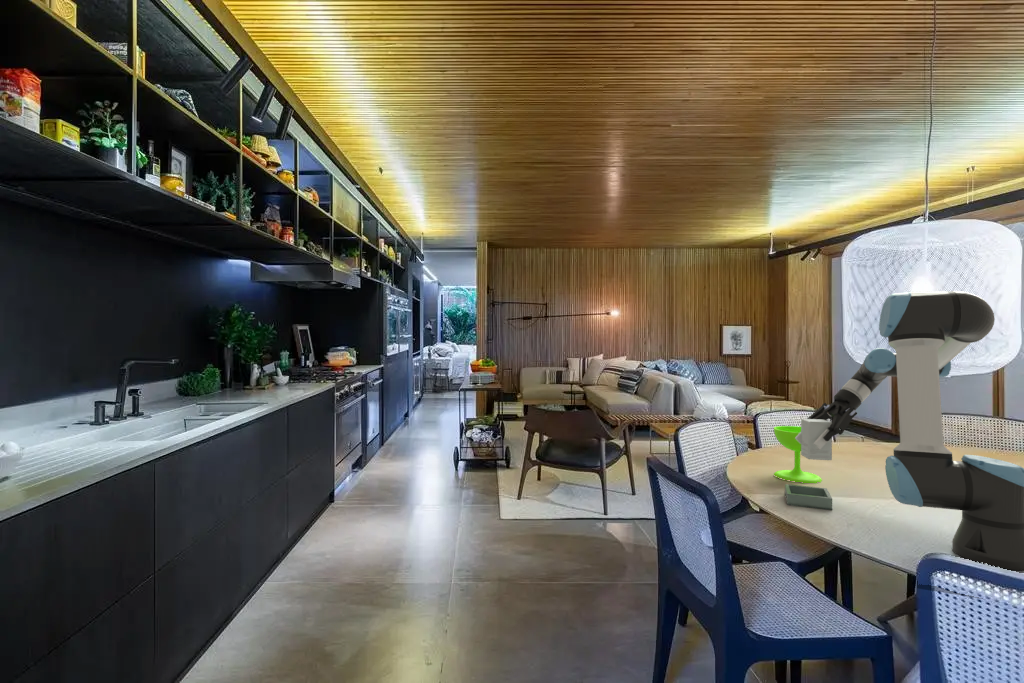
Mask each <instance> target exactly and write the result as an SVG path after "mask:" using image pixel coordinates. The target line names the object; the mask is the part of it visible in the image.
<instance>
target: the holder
mask: <svg viewBox="0 0 1024 683" xmlns="http://www.w3.org/2000/svg"><path fill="white" fill-rule="evenodd" d="M784 496H786V497H785V500H786V505H787V506H793V507H802V508H811V509H819V510H828V511H833V497H832V495H831V493H830V491H829V489H828V488H827V487H817V486H816V487H815V486H807V485H798V484H787V483H785V484H784Z"/></svg>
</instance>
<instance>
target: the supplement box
mask: <svg viewBox="0 0 1024 683" xmlns="http://www.w3.org/2000/svg"><path fill="white" fill-rule="evenodd" d="M800 419H801V422H800V427H801V451H800V456H802V457H804V458H806V459H808V460H816V461H832V460H833V437H832V438H831V439H830V440H829V441H828V442H827V443H826V444H825V445H824V446H823V447H822V448H821V449H818V448H817V447H816V446H815V445H814V444H813V443H814V442H815V441H816V440H817V439H818V438H819V436H820V435H821V434H822V433H823V432H824V431H825V430H826V429H828V428H827V427H830V425H831V424H832V421H829V420H824V419H807V418H800ZM828 430H829V429H828ZM829 431H830V430H829Z"/></svg>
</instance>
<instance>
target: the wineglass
mask: <svg viewBox="0 0 1024 683" xmlns="http://www.w3.org/2000/svg"><path fill="white" fill-rule="evenodd" d="M773 432H774V436H775V438H776V440H777V441H778V442H779V443H780V445H782V446H783V447H784V448H786V449H788V450H789V451H790V450H791V451H793V452H794V462H793V463H794V467H793V469H780V470H777V471H775V472H774V473H773V475H775V476H777V477H779V478H782V479H785V480H790V481H795V482H803V483H802V484H804V483H814V484H818V483H817V482H820V483H822V482H821V481H823V479H822V478H821V476H819V475H817V474H815V473H812V472H809V471H808V472H807V471H803V469H801V444H800V443H799V442H798V441H797V440H796V439H795V437H796V436H797V435H798V434H799V433H800V432H801V426H797V425H796V426H795V425H778V426H774V427H773Z"/></svg>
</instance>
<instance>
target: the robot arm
mask: <svg viewBox="0 0 1024 683" xmlns="http://www.w3.org/2000/svg"><path fill="white" fill-rule="evenodd" d="M880 311H881V312H880V316H879V322H878V323H879V324H878V326H879V327H878V330H879V335H880V336H881V337H883V338H885V339H886V338H887V341H888V342H887V344H888V346H889V347H891V348H892V349H893V350H894V351H895V352H893V351H891V350H890V349H886V348H884V347H878V348H874V349H872V350H871V351H869V353H868V354H867V355H866V357H865V358H864V360H863V362H862V364H861V365H860V367H859V369H858V370H857V371H856V372H855V373H854V374H853V376H851V378H850V379H849V380H847V381H846V383H845V384H844V385H843V386H842V387H841V389H839V390H838V391H837V392H836V393H835V395H834V396H833V402H832V403H830V404H827V403H826V402H824V403H822V405H820V407H819V408H818V409H817V410H816V411H814V412H813V413H812V414H811V415H810V416H808V417H807V418H806V419H824V420H826V421H829V419H830V420H832V421H831V422H832V424H831V425H830V427H827V428H828V429H829V430H830V431H829V430H828V429H826V430H825V431H824V432H823V433H822V434H821V435H820V436H819V438H818V439H817V440H816V441H815V442H814V443H813V444H814V445H815V446H816V447H817V448H818V449H821V448H822V447H823V446H824V445H825V444H826V443H827V442H828V441H829V440H830V439H831V438H832V439H833V437H834V436H836V435H839V436H840V435H843V433H844V432H845V430H846V429H847V428H848V426H849V424H850V423H851V422H852V420H853V418H854V417H855V416H857V414H858V412H857V411H856V410H857V409H858V408H859V407H860V406H861V405H862V403H864V401H865V400H866V399H867V398H868V397H869V395H871V394H872V392H874V390H875V389H876V388H877V387H878V386H879V385H880V384H882V382H883V381H884V380H885V379H887V378H888V377H896V378H897V398H898V399H897V400H898V401H897V403H898V422H899V424H898V425H899V444H898V445H897V446H895V447H894V448H893V455H889V456H887V457H886V459H885V476H886V480H887V481H886V482H887V484H888V487H889V489H890V492H891V495H892V497H894V499H895V500H896V501H897V502H898V503H900V504H903V505H909V506H914V507H918V508H934V509H942V510H943V509H945V510H955V511H961V521H960V522H959V524H958V527H957V529H956V531H955V534H954V536H953V538H952V541H951V542H952V544H951V545H952V548H951V549H952V551H953V552H954V553H956V554H957V555H958V556H960V557H962V558H965V559H967V558H968V559H967V560H969V559H971V560H970V561H972V560H974V561H973V562H975V561H978V562H983V563H987V564H990V565H994V566H999V567H1002V568H1001V569H1004V568H1006V569H1005V570H1012V571H1024V467H1022V466H1021V465H1018V464H1016V463H1013V462H1009V461H1005V460H1002V459H997V458H992V457H988V456H987V457H986V456H982V455H975V454H974V455H973V454H963V455H962V457H961V460H953V452H952V451H951V450H949V449H948V448H947V447H946V446H945V445H944V433H943V432H944V431H943V429H944V428H943V416H942V401H941V400H942V399H941V398H942V397H941V382H940V378H946V377H948V376H949V375H950V372H951V370H952V360H953V359H955V358H956V356H958V355H959V354H960V353H961V352H962V351H963V350H965V349H966V348H967V347H968V346H969V345H970V344H973V343H977V342H979V341H981V340H983V339H984V338H985V337H986V336H987V335H989V333H990V332H991V331H992V329H993V327H994V325H995V320H996V319H995V313H994V311H993V309H992V307H991V306H990V305H989V303H988V302H987V301H986V300H984V299H983V298H981V297H980V296H978V295H976V294H974V293H970V292H967V291H961V290H952V291H907V292H898V293H897V292H896V293H892V294H890V295H888V296H887V297H886V299H885V300H884V302H883V304H882V307H881V310H880ZM795 439H796V440H797V441H798V442H799V443H800V444H801V432H800V433H799V434H798V435H797V436H796V437H795ZM978 562H977V563H978ZM994 566H993V567H994Z"/></svg>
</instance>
